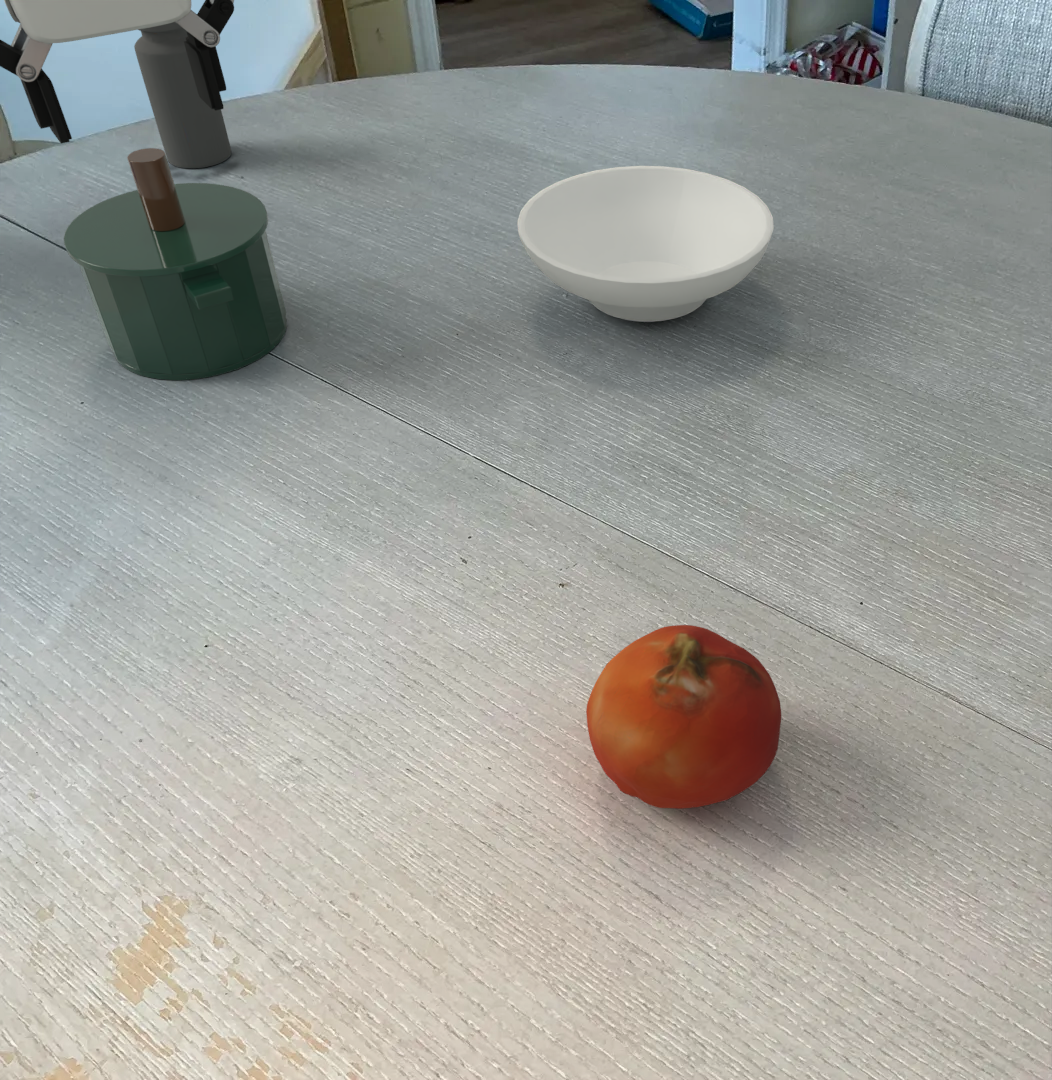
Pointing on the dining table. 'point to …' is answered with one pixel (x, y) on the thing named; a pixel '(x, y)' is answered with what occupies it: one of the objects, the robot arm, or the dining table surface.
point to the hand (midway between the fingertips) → (138, 119)
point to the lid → (164, 224)
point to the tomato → (684, 718)
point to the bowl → (645, 238)
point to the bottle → (179, 100)
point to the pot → (192, 316)
